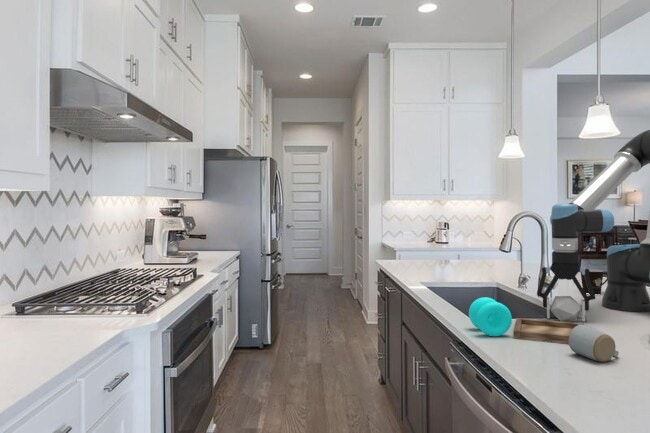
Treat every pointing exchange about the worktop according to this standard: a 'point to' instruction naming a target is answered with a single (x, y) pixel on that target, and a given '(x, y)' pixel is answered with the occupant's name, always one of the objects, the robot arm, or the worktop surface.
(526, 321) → the tray
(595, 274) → the coffee mug
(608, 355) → the ceramic mug
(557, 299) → the die
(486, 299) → the donuts
